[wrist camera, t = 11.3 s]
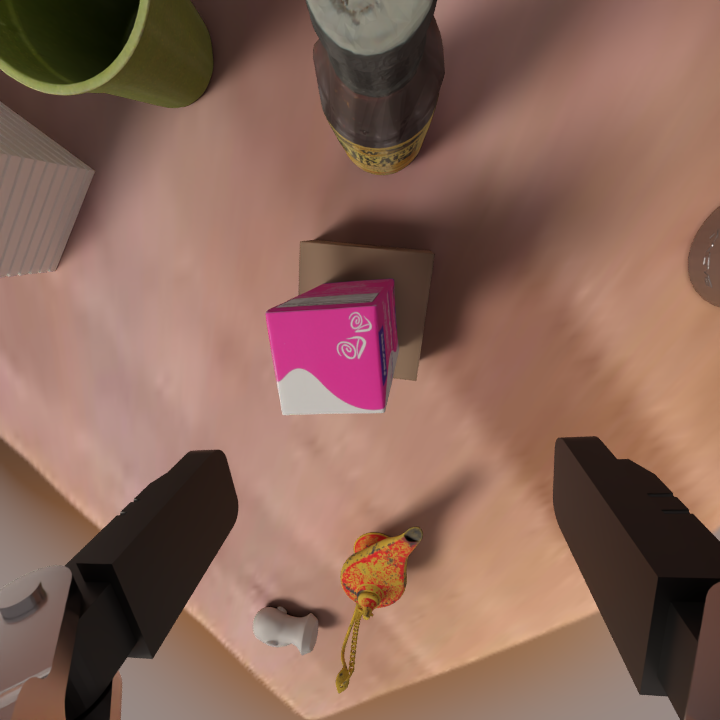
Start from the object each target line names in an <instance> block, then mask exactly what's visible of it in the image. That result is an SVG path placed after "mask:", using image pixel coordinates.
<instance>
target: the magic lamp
mask: <svg viewBox="0 0 720 720" xmlns="http://www.w3.org/2000/svg"><path fill="white" fill-rule="evenodd" d="M422 537H423V532H422V530H421V529H420V528H419V527H412V528H409V529H408V530H407V531H406V532H404V533H403V534H401V535H399V536H395V537H388V536H386V535H384V534H381V533H367V534H364V535H362V536H360V537H359V538H358V539H357V540H356V542H355V544H354V553H355V554H353V555H352V556H350V557H349V558H348V559H347V561H346V562H345V563H344V565H343V568H342V570H341V576H340V578H341V585H342V587H343V590H344V591H345V593H346V594H347V596H348V597H349V598H350V599H352V600H353V601H354V602H356V608H355V611H354V614H353V617H352V620H351V623H350V626H349V628H348V631H347V634H346V637H345V640H344V643H343V646H342V651H341V661H342V664H343V668H342V670H341V671H340V672H339V674H338V675H337V678H336V687H337V690H338V693H341V692H342V691H344V690H345V689H346V688H347V687H348V684H349V678H350V677H351V675H352V673H353V672H354V664H355V654H356V644H357V635H358V628H359V625H360V623H359V622H360V620H361V619H360V618H361V616H362V615H363V618H364V619H365V620H368V619H369V618H370V616H373V614H372V611H373V610H374V609H375V608H381V607H386V606H389V605H391V604H393V603H395V602H396V601H397V600H399V598H400V597H401V596H402V595H403V593H404V591H405V587H406V583H407V575H406V567H407V560H408V556H409V555H410V553H411V552H412V551H413V550H414V548H415V547H416V546H417V545H418V544H419V542H420V541H421V540H422ZM361 607H362V608H361ZM357 619H358V620H359V621H358V620H357ZM354 621H355V625H358V627H357V626H355V625H354V629H353V631H354V632H357V634H356V633H355V634H354V632H353V636H352V639H353V640H354V641H356V642H353V640H352V642H351V643H352V645H351V652H350V653H351V655H350V662H349V665H350V666H349V670H348V669H347V666H346V663H345V659H344V652H345V647H346V643H347V640H348V637H349V634H350V632H351V629H352V626H353V624H354ZM356 622H358V623H356ZM355 628H356V629H357V630H355ZM354 636H356V638H355V637H354ZM353 637H354V638H353ZM354 643H355V644H354ZM353 645H355V647H354V646H353ZM352 646H353V647H352ZM352 650H355V652H354V651H353V652H352ZM352 655H354V657H352V658H351V656H352ZM351 661H353V662H351ZM350 667H353V668H350ZM349 672H350V675H349ZM340 686H342V687H340Z"/></svg>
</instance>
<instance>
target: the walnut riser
mask: <svg viewBox="0 0 720 720" xmlns="http://www.w3.org/2000/svg"><path fill="white" fill-rule="evenodd" d="M434 255H435V254H434V253H433V252H432V251H429V250H418V249H407V248H396V247H386V246H375V245H364V244H353V243H343V242H332V241H321V240H309V241H302V242H300V260H299V295H301V294H303V293H305V292H307V291H309V290H312V289H314V288H316V287H318V286H320V285H322V284H325V283H336V282H348V281H362V280H376V279H391V278H392V279H394V288H395V311H396V325H397V337H398V345H399V353H398V357H397V362H396V366H395V371H394V375H393V378H396V379H404V380H412V381H416V380H417V373H418V366H419V359H420V352H421V345H422V338H423V331H424V324H425V318H426V311H427V304H428V297H429V290H430V283H431V276H432V269H433V262H434ZM299 295H298V296H299Z"/></svg>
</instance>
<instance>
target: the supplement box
mask: <svg viewBox="0 0 720 720" xmlns="http://www.w3.org/2000/svg"><path fill="white" fill-rule="evenodd" d="M266 321H267V328H268V334H269V340H270V346H271V353H272V359H273V364H274V370H275V376H276V381H277V387H278V392H279V397H280V404H281V409H282V415H303V414H335V413H338V414H341V413H384V412H385V409H386V405H387V401H388V396H389V392H390V388H391V384H392V379H393V375H394V371H395V366H396V362H397V357H398V353H399V345H398V337H397V325H396V311H395V288H394V279H392V278H391V279H376V280H362V281H348V282H336V283H325V284H322V285H320V286H318V287H316V288H314V289H312V290H309V291H307V292H305V293H303V294H301V295H299V296H297V297H295V298H293V299H291V300H288V301H287V302H284V303H282V304H280V305H278V306H276V307H273V308H271V309H269V310H268V311H266Z"/></svg>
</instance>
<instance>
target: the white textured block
mask: <svg viewBox="0 0 720 720" xmlns="http://www.w3.org/2000/svg"><path fill="white" fill-rule="evenodd" d="M94 173H95V171H94V170H93V169H92V168H90V167H89V166H88V165H86V164H85V163H83V162H82V161H81V160H79V159H78V158H77V157H75V156H74V155H73V154H71V153H70V152H68V151H67V150H66V149H64V148H63V147H62V146H60V145H59V144H58V143H56V142H55V141H53V140H52V139H51V138H49V137H48V136H47V135H45V134H44V133H43V132H41V131H40V130H39V129H37V128H36V127H34V126H33V125H32V124H30V123H29V122H28V121H26V120H25V119H24V118H22V117H21V116H19V115H18V114H17V113H15V112H14V111H13V110H11V109H10V108H9V107H7V106H6V105H4V104H3V103H2V102H0V278H2V277H6V275H7V276H9V277H11V276H17V274H19V275H28V273H29V274H36V273H38V272H39V273H45V272H47V271H49V272H53V271H56V269H57V266H58V264H59V261H60V258H61V256H62V253H63V251H64V248H65V246H66V243H67V241H68V238H69V236H70V233H71V231H72V228H73V226H74V223H75V221H76V218H77V216H78V213H79V210H80V208H81V205H82V203H83V200H84V198H85V195H86V193H87V190H88V188H89V185H90V183H91V180H92V178H93V175H94Z"/></svg>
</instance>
